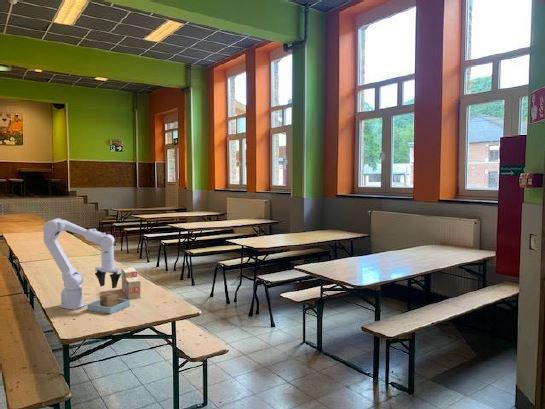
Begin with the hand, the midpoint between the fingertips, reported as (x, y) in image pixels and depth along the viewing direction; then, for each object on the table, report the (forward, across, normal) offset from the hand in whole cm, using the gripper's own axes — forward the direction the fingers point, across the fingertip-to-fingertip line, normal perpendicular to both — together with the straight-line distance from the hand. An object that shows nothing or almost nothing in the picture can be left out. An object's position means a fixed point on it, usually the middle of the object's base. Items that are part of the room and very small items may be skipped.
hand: (108, 286), depth 206 cm
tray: (+9, +3, -3) cm, 10 cm away
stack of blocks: (+10, -4, +21) cm, 23 cm away
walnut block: (+9, +3, -3) cm, 10 cm away
